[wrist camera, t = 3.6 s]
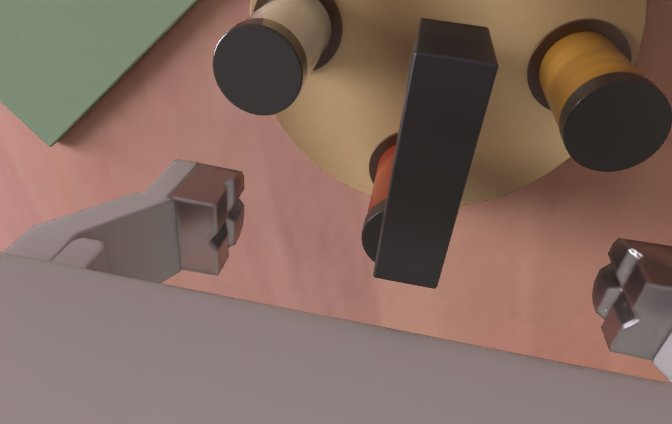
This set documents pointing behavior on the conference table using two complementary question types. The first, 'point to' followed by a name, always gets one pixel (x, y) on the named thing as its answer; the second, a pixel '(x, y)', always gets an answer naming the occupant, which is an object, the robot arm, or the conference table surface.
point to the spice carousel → (469, 109)
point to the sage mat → (73, 54)
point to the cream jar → (271, 55)
